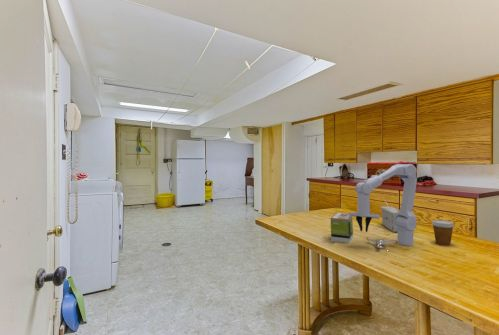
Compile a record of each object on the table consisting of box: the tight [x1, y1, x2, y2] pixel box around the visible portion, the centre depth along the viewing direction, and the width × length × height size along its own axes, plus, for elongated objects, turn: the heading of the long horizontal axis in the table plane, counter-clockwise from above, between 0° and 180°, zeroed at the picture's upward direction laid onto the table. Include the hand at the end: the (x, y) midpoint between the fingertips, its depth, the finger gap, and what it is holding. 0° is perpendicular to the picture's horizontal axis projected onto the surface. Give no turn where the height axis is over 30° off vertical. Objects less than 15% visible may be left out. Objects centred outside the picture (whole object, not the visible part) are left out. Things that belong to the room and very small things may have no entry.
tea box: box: [330, 212, 354, 244], centre depth 143 cm, size 15×10×15 cm, turn 149°
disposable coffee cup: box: [431, 219, 455, 246], centre depth 133 cm, size 10×10×12 cm
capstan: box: [366, 236, 397, 250], centre depth 127 cm, size 12×14×4 cm
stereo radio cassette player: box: [380, 197, 406, 233], centre depth 165 cm, size 21×8×20 cm, turn 171°
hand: (364, 231), depth 129 cm, fingers closed
